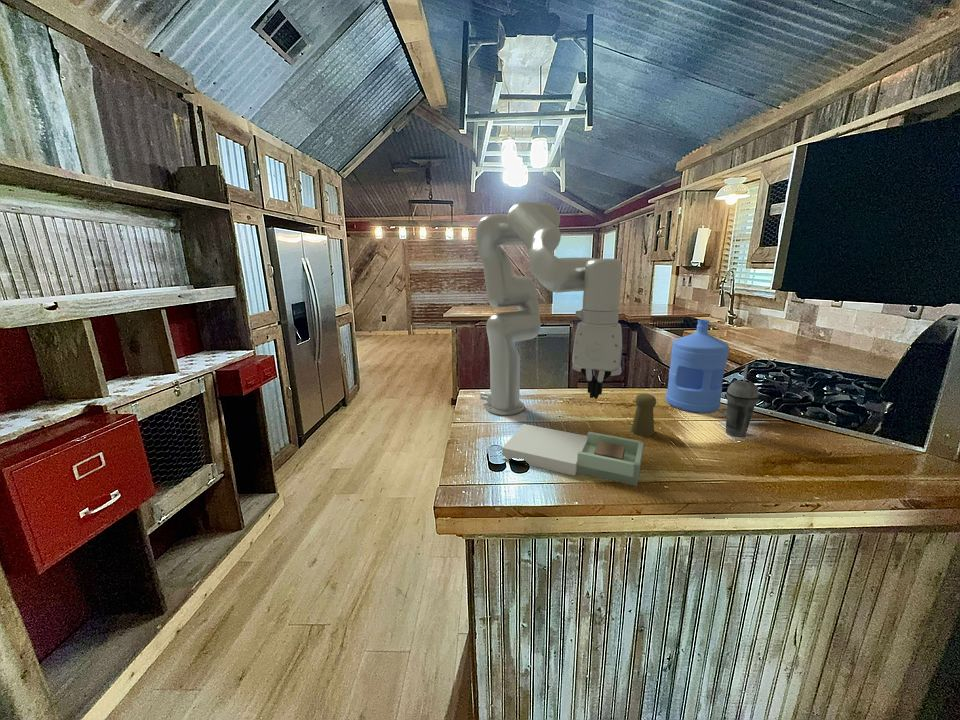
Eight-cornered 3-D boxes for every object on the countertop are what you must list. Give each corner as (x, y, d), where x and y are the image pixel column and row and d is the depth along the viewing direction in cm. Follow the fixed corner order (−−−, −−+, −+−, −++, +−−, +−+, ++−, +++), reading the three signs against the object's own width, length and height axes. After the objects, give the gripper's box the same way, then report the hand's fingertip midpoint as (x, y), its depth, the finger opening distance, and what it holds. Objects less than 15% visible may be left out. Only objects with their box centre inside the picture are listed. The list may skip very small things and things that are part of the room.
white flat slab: (502, 458, 94) (502, 447, 93) (523, 433, 107) (523, 423, 106) (575, 475, 86) (575, 464, 85) (588, 446, 99) (589, 436, 98)
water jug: (657, 396, 133) (666, 316, 125) (703, 395, 132) (715, 316, 125) (678, 414, 118) (690, 325, 110) (730, 413, 117) (745, 324, 110)
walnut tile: (593, 462, 88) (594, 452, 87) (598, 450, 93) (598, 441, 92) (620, 468, 85) (621, 458, 84) (624, 455, 90) (625, 446, 89)
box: (576, 472, 87) (577, 453, 86) (587, 449, 97) (588, 431, 96) (637, 486, 81) (639, 466, 80) (641, 460, 92) (643, 441, 90)
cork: (629, 434, 105) (633, 397, 102) (632, 425, 110) (635, 390, 107) (653, 438, 102) (657, 400, 100) (655, 429, 108) (659, 393, 105)
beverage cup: (753, 433, 104) (767, 363, 99) (748, 442, 99) (762, 369, 94) (723, 425, 109) (734, 358, 104) (717, 434, 104) (728, 364, 99)
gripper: (561, 318, 82) (558, 397, 87) (635, 322, 76) (627, 407, 81) (569, 313, 89) (566, 387, 94) (638, 316, 82) (630, 395, 87)
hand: (594, 396), depth 87 cm, fingers closed
